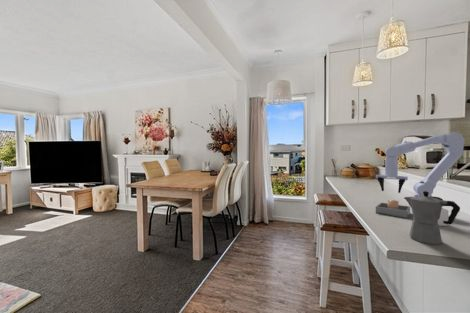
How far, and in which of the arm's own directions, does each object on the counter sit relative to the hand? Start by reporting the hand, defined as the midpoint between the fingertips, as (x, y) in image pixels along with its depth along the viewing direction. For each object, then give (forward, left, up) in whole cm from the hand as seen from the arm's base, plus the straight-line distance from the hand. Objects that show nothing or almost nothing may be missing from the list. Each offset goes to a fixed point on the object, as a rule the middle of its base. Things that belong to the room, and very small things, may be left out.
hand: (390, 191), depth 121 cm
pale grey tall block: (-18, +15, -10) cm, 26 cm away
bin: (-2, +9, -10) cm, 13 cm away
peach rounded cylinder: (-2, +9, -9) cm, 13 cm away
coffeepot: (-18, +42, -10) cm, 47 cm away
